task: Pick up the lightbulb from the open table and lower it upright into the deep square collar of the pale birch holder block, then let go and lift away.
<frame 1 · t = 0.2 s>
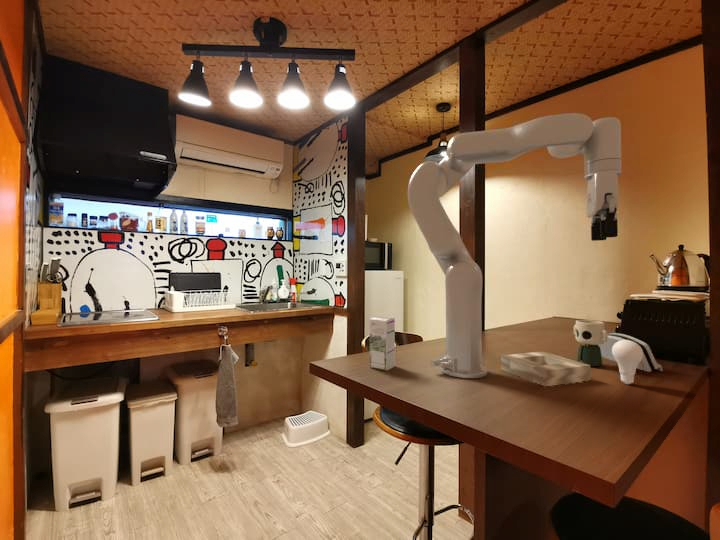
hand: (603, 238, 83), 36 cm above the counter, tool pointing down, fingers open, 9 cm apart
syrup box: (382, 367, 97), on the counter
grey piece: (625, 364, 101), on the counter
lightbulb: (627, 384, 83), on the counter
holder: (543, 374, 90), on the counter
character mug: (589, 365, 99), on the counter
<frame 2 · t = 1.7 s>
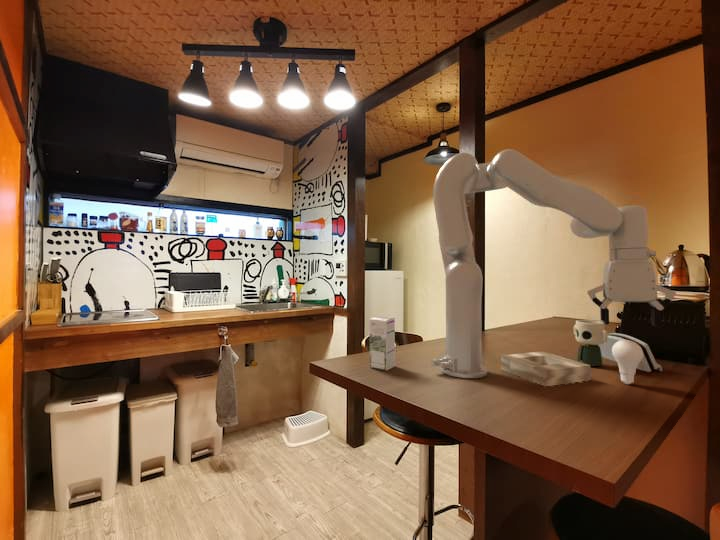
hand: (629, 324, 82), 15 cm above the counter, tool pointing down, fingers open, 9 cm apart
nothing on the counter moved.
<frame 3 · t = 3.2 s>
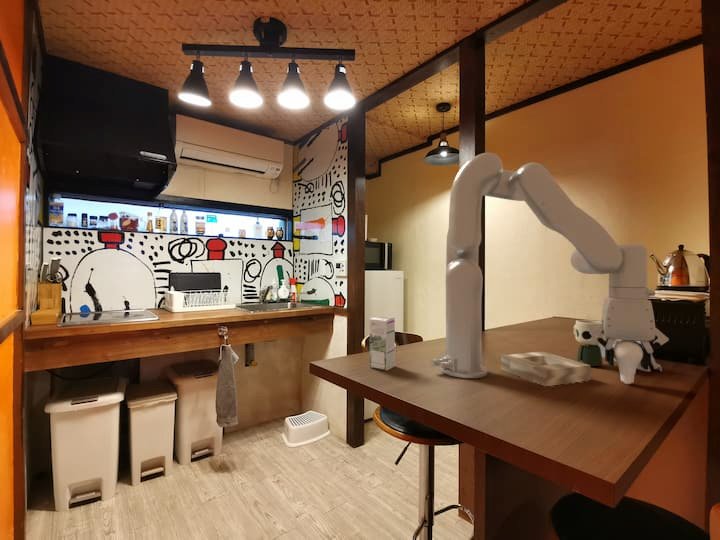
hand: (627, 365, 82), 5 cm above the counter, tool pointing down, fingers closed on lightbulb, 6 cm apart
lightbulb: (627, 384, 83), on the counter, touching gripper
everything else where it was.
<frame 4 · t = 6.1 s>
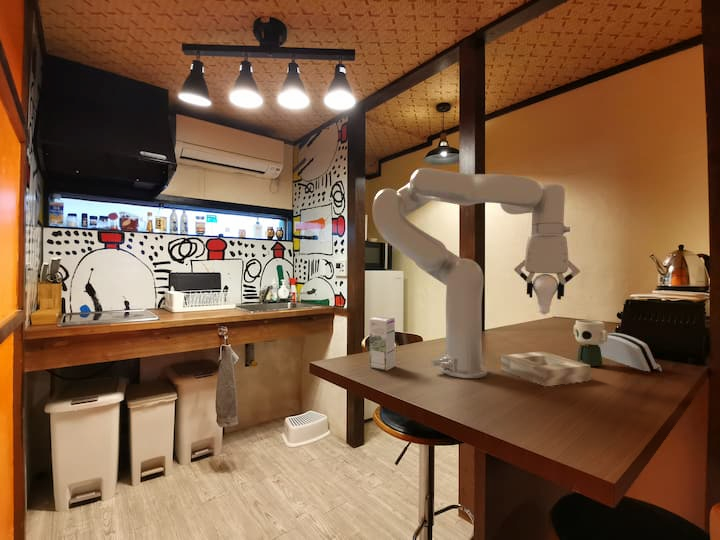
hand: (544, 297, 89), 21 cm above the counter, tool pointing down, fingers closed on lightbulb, 6 cm apart
lightbulb: (544, 315, 89), point 16 cm above the counter, touching gripper
everything else where it was.
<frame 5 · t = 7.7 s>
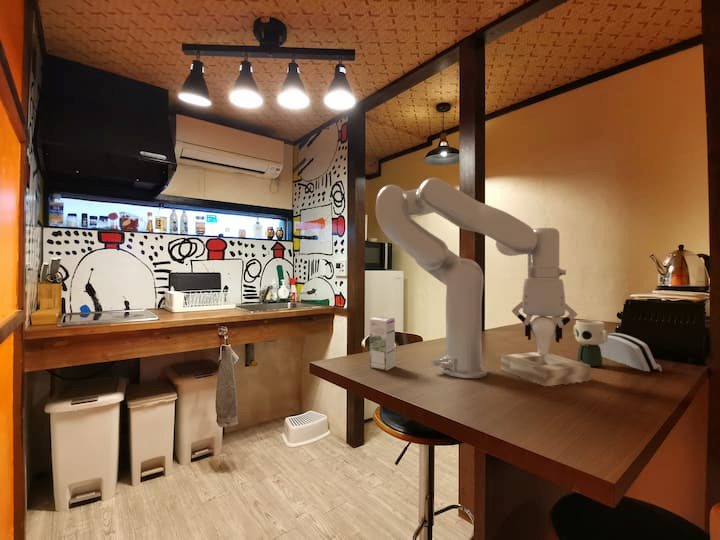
hand: (543, 339, 90), 10 cm above the counter, tool pointing down, fingers closed on lightbulb, 6 cm apart
lightbulb: (543, 357, 90), point 5 cm above the counter, touching gripper
everything else where it was.
when the fingers open (5 cm above the counter, at t = 9.2 s): lightbulb stays where it is, resting in holder.
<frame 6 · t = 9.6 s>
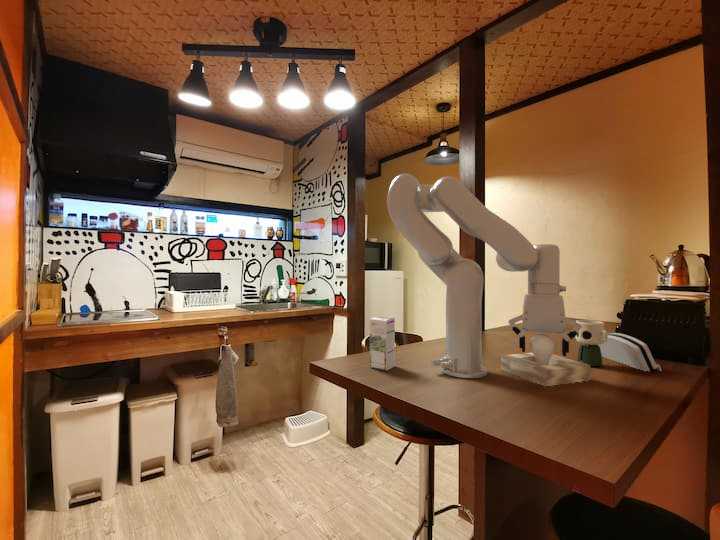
hand: (543, 353, 90), 6 cm above the counter, tool pointing down, fingers open, 9 cm apart
lightbulb: (541, 375, 90), resting in holder
everything else where it was.
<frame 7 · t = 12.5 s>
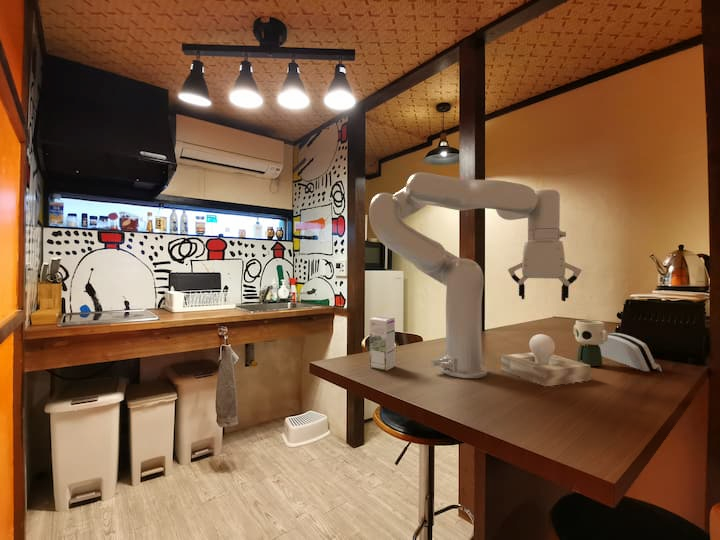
hand: (542, 299, 90), 20 cm above the counter, tool pointing down, fingers open, 9 cm apart
nothing on the counter moved.
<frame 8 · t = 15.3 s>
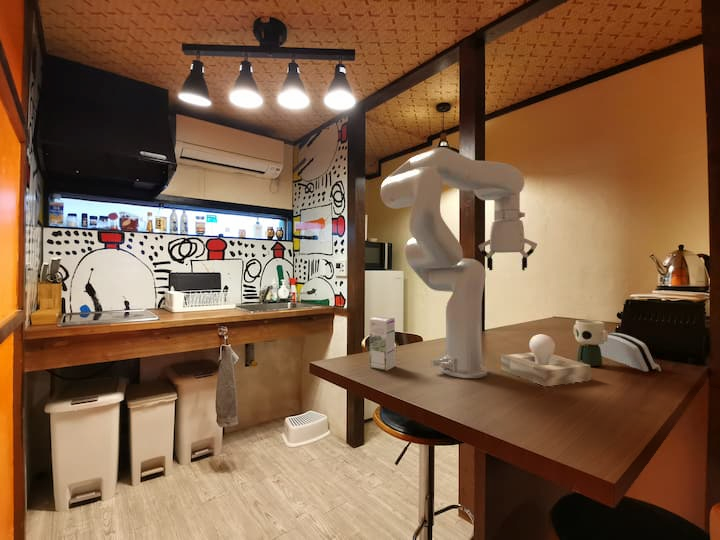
hand: (506, 270, 107), 28 cm above the counter, tool pointing down, fingers open, 9 cm apart
nothing on the counter moved.
at the end: lightbulb 0.3 cm off-centre on the holder, point 0.0 cm above the holder's base; lightbulb tilted 0°; the gripper is holding nothing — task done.
